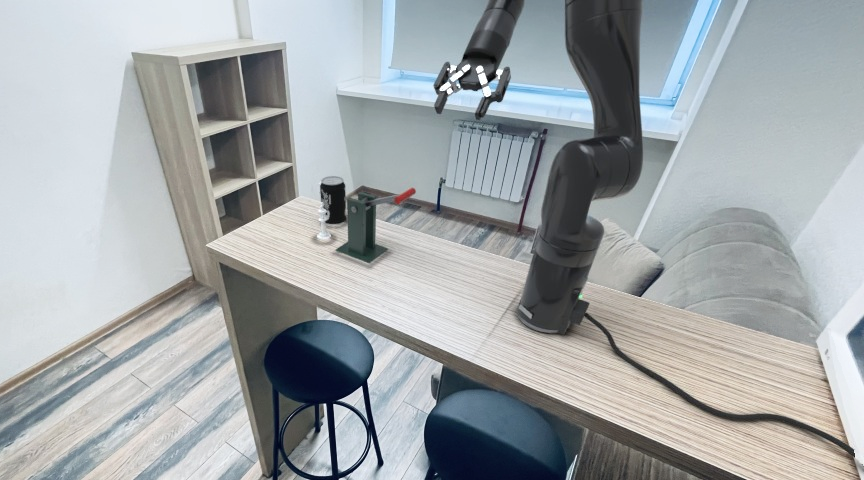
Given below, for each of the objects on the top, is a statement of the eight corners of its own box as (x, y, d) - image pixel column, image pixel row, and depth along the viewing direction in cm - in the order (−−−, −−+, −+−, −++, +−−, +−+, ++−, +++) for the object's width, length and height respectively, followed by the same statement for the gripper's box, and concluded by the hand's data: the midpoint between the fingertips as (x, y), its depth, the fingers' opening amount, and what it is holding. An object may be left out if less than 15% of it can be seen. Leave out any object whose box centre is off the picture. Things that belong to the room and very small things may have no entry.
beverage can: (345, 227, 109) (344, 184, 102) (321, 227, 109) (318, 184, 102) (346, 216, 114) (345, 175, 107) (323, 217, 114) (320, 175, 107)
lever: (417, 196, 84) (414, 184, 83) (402, 205, 80) (398, 194, 79) (366, 206, 94) (363, 196, 93) (350, 215, 90) (347, 205, 89)
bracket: (388, 252, 98) (390, 196, 90) (369, 267, 93) (369, 209, 84) (355, 240, 103) (354, 186, 95) (335, 254, 98) (332, 198, 90)
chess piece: (311, 242, 103) (308, 205, 97) (318, 233, 106) (315, 197, 101) (329, 245, 101) (327, 207, 96) (336, 235, 105) (334, 199, 99)
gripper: (452, 26, 82) (420, 98, 82) (523, 29, 75) (488, 107, 75) (459, 53, 89) (429, 120, 88) (526, 58, 82) (493, 130, 81)
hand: (456, 114), depth 81 cm, fingers open, 8 cm apart
